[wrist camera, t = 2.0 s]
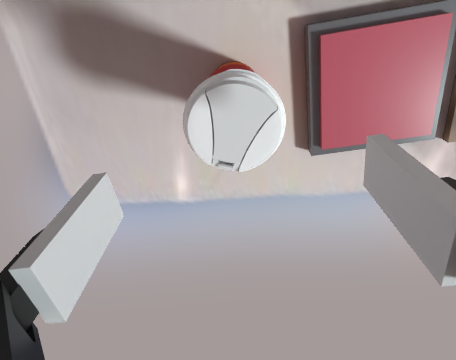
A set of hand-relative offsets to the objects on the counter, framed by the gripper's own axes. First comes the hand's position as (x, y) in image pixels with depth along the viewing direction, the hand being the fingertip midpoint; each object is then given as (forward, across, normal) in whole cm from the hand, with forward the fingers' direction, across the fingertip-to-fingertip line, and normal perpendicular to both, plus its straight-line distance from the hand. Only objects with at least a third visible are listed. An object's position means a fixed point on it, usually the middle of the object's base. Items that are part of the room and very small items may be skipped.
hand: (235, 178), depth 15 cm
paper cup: (+21, 0, 0) cm, 21 cm away
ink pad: (+21, +15, -2) cm, 26 cm away
